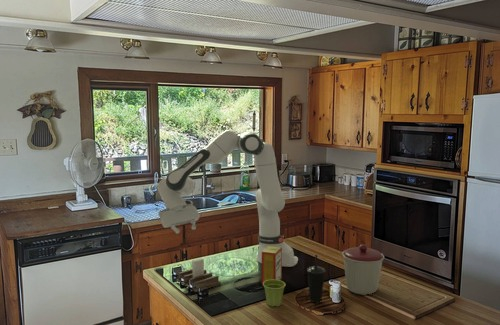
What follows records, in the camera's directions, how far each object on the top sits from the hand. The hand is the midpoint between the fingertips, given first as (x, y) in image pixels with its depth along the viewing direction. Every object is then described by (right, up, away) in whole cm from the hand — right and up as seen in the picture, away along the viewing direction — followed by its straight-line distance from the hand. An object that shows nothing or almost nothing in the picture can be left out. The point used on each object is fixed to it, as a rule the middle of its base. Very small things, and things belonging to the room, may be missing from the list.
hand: (186, 230), depth 202 cm
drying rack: (+7, -23, -8) cm, 26 cm away
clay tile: (+7, -22, -9) cm, 24 cm away
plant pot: (+41, -26, -29) cm, 56 cm away
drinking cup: (+59, -25, -27) cm, 69 cm away
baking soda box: (+41, -23, -6) cm, 48 cm away
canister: (+81, -24, -16) cm, 86 cm away
